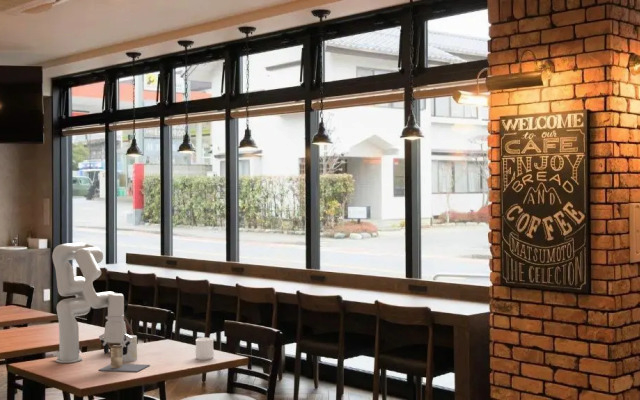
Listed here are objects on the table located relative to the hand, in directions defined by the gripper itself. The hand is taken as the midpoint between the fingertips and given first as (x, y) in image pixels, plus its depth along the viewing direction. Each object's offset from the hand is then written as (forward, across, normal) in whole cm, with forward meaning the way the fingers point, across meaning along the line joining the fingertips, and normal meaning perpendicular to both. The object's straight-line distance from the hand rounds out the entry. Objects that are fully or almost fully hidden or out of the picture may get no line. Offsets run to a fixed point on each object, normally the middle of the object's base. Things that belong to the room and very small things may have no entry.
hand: (115, 354), depth 383 cm
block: (+6, +1, 0) cm, 6 cm away
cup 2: (+6, +35, +29) cm, 46 cm away
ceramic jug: (+8, -18, +38) cm, 42 cm away
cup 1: (+7, -2, +19) cm, 20 cm away
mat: (+7, +5, 0) cm, 8 cm away
